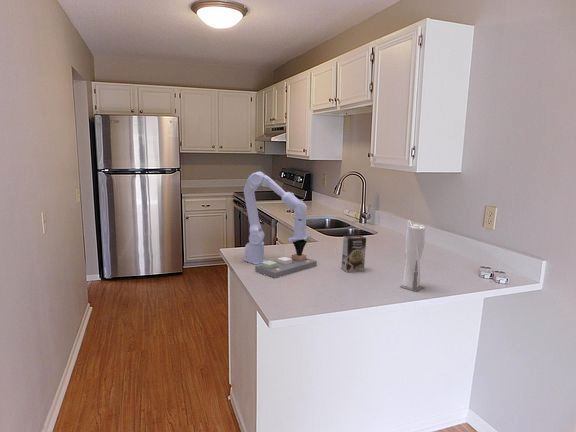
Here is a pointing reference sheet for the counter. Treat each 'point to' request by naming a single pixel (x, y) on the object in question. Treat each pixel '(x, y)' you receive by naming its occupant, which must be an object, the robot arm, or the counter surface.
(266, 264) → the sage key
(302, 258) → the terracotta key
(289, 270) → the keypad
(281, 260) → the cream key
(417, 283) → the skyscraper
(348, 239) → the coffee box
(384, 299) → the counter surface
